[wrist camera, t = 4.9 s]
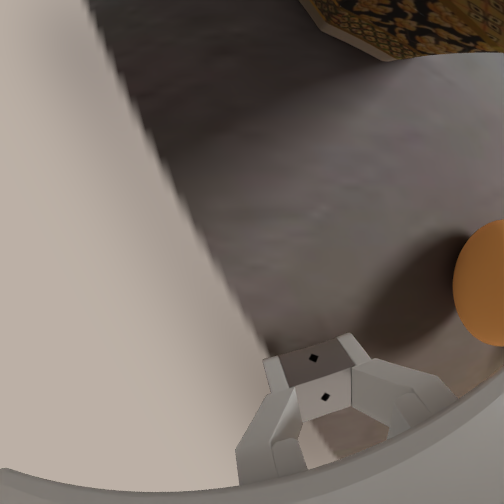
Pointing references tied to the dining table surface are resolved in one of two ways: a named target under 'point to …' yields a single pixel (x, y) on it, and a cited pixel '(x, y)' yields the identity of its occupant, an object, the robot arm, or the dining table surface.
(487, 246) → the ball
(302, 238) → the dining table surface
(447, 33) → the ceramic cup
